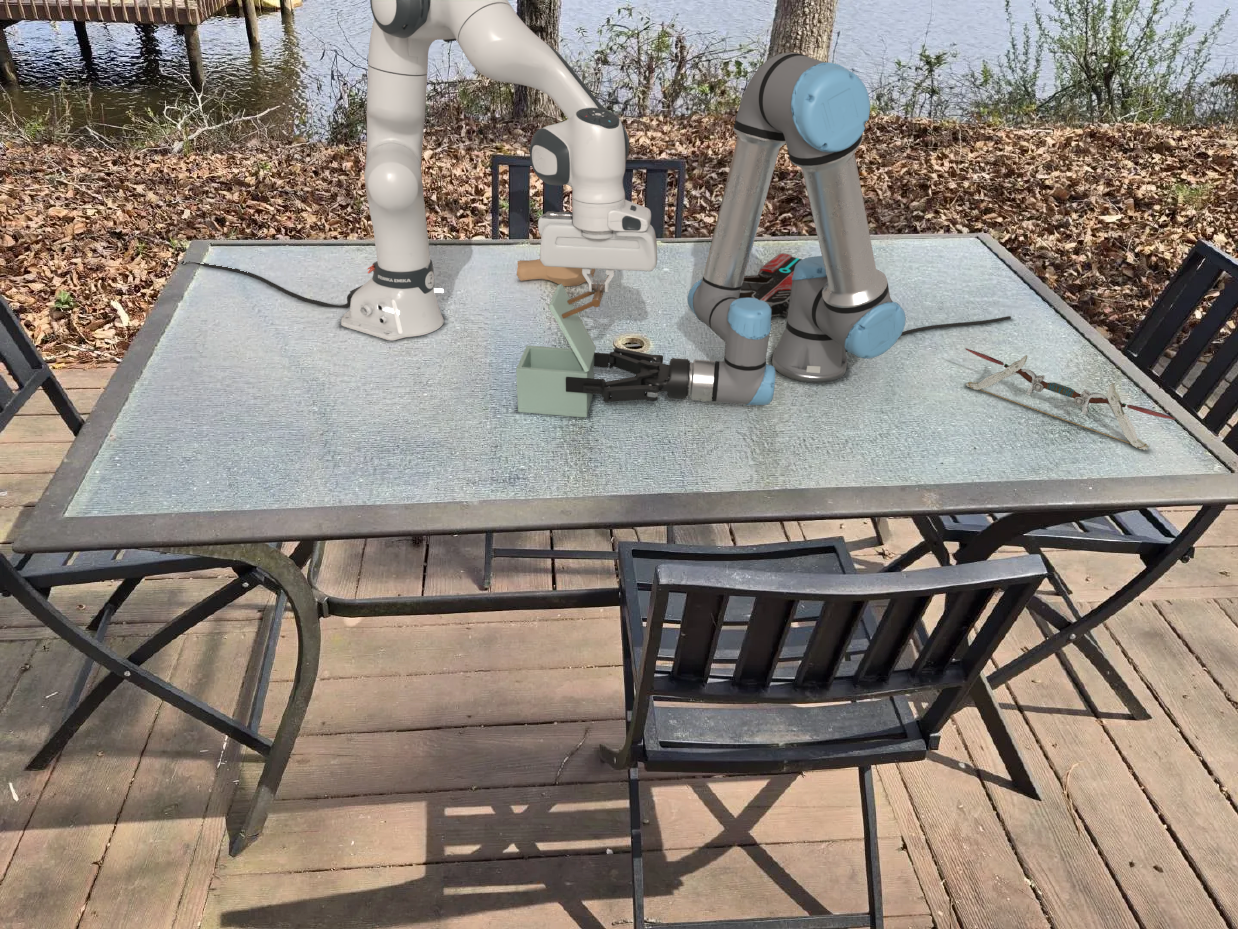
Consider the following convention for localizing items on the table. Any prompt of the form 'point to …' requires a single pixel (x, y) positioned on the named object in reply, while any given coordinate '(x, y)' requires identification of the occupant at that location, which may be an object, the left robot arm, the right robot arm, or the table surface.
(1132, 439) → the bow
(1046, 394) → the table surface
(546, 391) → the chest
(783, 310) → the gun
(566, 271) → the squash
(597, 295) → the lid
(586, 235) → the left robot arm
